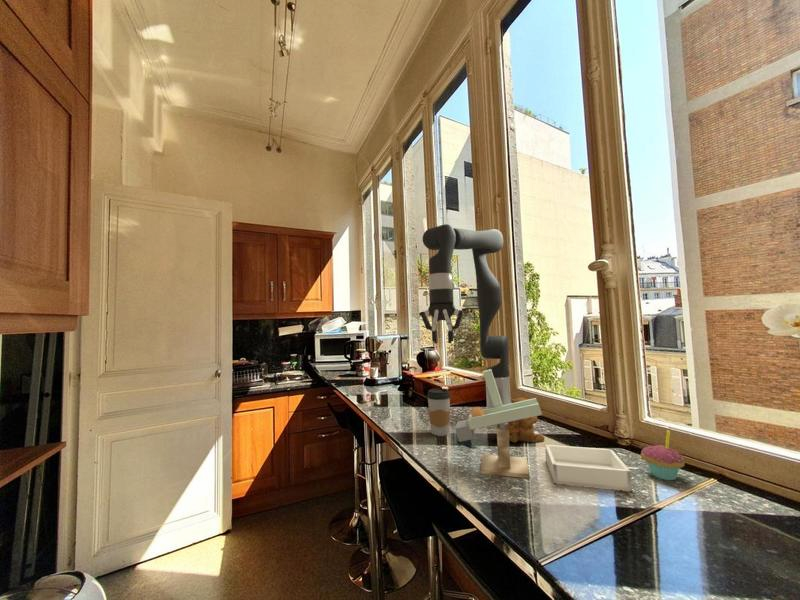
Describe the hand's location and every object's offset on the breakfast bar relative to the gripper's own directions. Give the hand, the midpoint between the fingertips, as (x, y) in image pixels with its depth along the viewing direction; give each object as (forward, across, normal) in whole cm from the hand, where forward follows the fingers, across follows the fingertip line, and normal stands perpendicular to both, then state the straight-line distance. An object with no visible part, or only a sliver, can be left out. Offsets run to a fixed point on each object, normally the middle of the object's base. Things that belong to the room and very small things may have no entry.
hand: (443, 342), depth 102 cm
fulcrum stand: (+33, +17, -7) cm, 38 cm away
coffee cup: (+33, -5, +16) cm, 37 cm away
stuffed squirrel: (+34, +22, +15) cm, 43 cm away
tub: (+33, +36, -7) cm, 50 cm away
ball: (+19, +10, -7) cm, 23 cm away
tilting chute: (+23, +16, -7) cm, 29 cm away
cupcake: (+33, +54, -4) cm, 64 cm away
